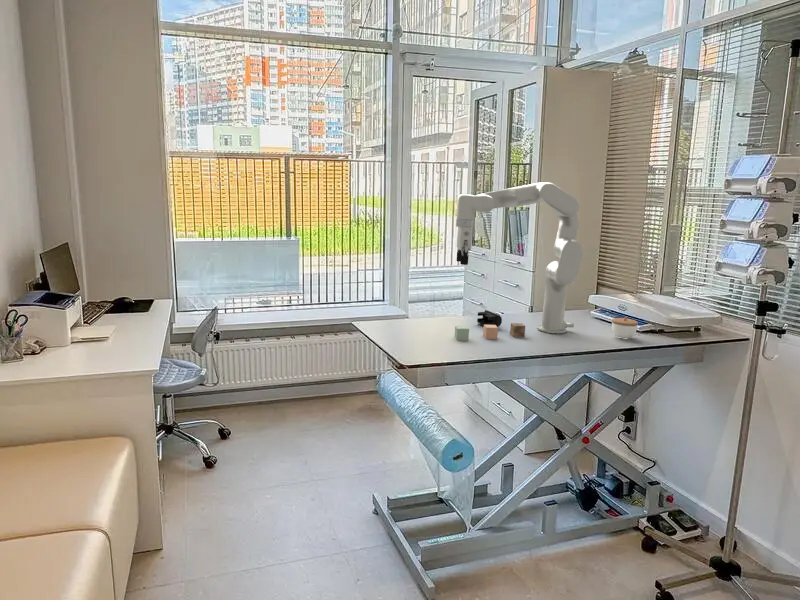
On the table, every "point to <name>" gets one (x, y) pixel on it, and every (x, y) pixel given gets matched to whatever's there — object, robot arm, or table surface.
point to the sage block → (461, 333)
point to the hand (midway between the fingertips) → (462, 263)
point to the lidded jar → (624, 327)
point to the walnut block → (517, 330)
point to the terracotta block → (490, 331)
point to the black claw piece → (489, 318)
